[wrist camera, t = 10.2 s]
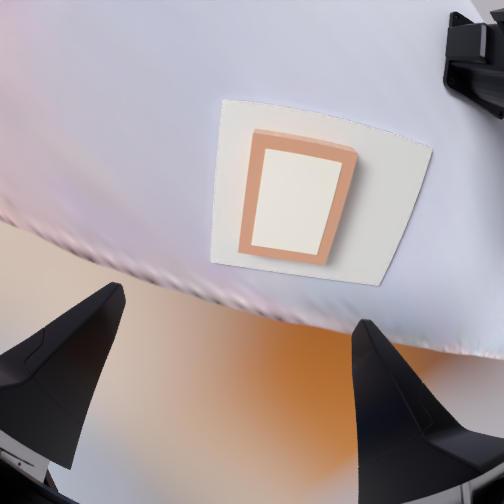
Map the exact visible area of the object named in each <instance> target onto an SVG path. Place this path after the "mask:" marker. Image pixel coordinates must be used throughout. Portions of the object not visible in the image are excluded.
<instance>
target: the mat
mask: <svg viewBox="0 0 504 504" xmlns="http://www.w3.org/2000/svg"><path fill="white" fill-rule="evenodd" d="M255 129H262V130H269V131H276V132H282V133H288V134H293V135H299V136H304V137H309V138H314V139H319V140H324V141H328V142H333V143H337V144H341V145H345V146H349V147H352V148H353V149H354V150H355V151H356V152H357V153H358V156H357V160H356V164H355V168H354V172H353V175H352V179H351V183H350V186H349V190H348V193H347V197H346V200H345V204H344V207H343V210H342V214H341V217H340V220H339V224H338V227H337V230H336V233H335V236H334V239H333V242H332V246H331V249H330V252H329V255H328V258H327V260H326V263H325V266H324V265H317V264H311V263H304V262H297V261H290V260H283V259H277V258H270V257H263V256H256V255H249V254H243V253H238V248H239V240H240V231H241V223H242V215H243V207H244V199H245V191H246V183H247V175H248V167H249V160H250V152H251V144H252V137H253V132H254V130H255ZM432 150H433V149H432V148H430V147H428V146H426V145H423V144H421V143H418V142H415V141H413V140H410V139H407V138H405V137H402V136H399V135H396V134H393V133H390V132H387V131H384V130H381V129H377V128H374V127H371V126H367V125H364V124H361V123H357V122H353V121H350V120H346V119H342V118H338V117H334V116H329V115H325V114H321V113H316V112H311V111H306V110H301V109H296V108H290V107H284V106H278V105H272V104H265V103H257V102H249V101H240V100H230V99H223V101H222V110H221V119H220V129H219V139H218V150H217V161H216V174H215V186H214V200H213V216H212V232H211V252H210V262H212V263H219V264H225V265H232V266H239V267H245V268H252V269H259V270H266V271H273V272H280V273H287V274H294V275H301V276H308V277H315V278H323V279H330V280H338V281H345V282H353V283H360V284H368V285H376V286H379V284H380V282H381V280H382V278H383V276H384V274H385V272H386V270H387V268H388V266H389V264H390V262H391V260H392V257H393V255H394V253H395V251H396V249H397V246H398V244H399V242H400V239H401V237H402V235H403V232H404V230H405V227H406V225H407V222H408V220H409V217H410V215H411V212H412V210H413V207H414V204H415V202H416V199H417V196H418V193H419V191H420V188H421V185H422V182H423V179H424V176H425V173H426V170H427V166H428V163H429V160H430V157H431V153H432Z"/></svg>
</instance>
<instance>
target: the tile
mask: <svg viewBox="0 0 504 504" xmlns="http://www.w3.org/2000/svg"><path fill="white" fill-rule="evenodd" d="M357 156H358V153H357V152H356V151H355V150H354V149H353V148H352V147H349V146H345V145H341V144H337V143H333V142H328V141H324V140H319V139H314V138H309V137H304V136H299V135H293V134H288V133H282V132H276V131H269V130H262V129H255V130H254V132H253V137H252V144H251V152H250V160H249V167H248V175H247V183H246V191H245V199H244V207H243V215H242V223H241V231H240V240H239V248H238V253H243V254H249V255H256V256H263V257H270V258H277V259H283V260H290V261H297V262H304V263H311V264H317V265H324V266H325V263H326V260H327V258H328V255H329V252H330V249H331V246H332V242H333V239H334V236H335V233H336V230H337V227H338V224H339V220H340V217H341V214H342V210H343V207H344V204H345V200H346V197H347V193H348V190H349V186H350V183H351V179H352V175H353V172H354V168H355V164H356V160H357Z"/></svg>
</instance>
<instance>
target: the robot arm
mask: <svg viewBox="0 0 504 504" xmlns="http://www.w3.org/2000/svg"><path fill="white" fill-rule="evenodd" d="M490 14H491V15H492V17H493V19H494V21H496V22H497V24H485V23H473V22H472V21H470V20H469V19H467V18H466V17H464V16H463V15H461V14H460V13H458V12H451V13H450V22H449V28H448V35H447V46H446V54H445V56H446V63H445V70H444V77H443V82H444V84H445V86H446V87H447V88H449V89H451V90H453V91H455V92H456V93H458V94H460V95H462V96H463V97H465V98H467V99H468V100H470V101H472V102H473V103H475V104H476V105H478V106H480V107H481V108H483V109H484V110H486V111H487V112H489V113H490V114H492V115H493V116H494V117H496V118H498V119H503V118H504V8H503V9H499V10H495V11H491V12H490ZM456 17H457V18H458V20H457V19H456ZM449 79H451V84H450V83H449ZM125 303H126V299H125V295H124V290H123V286H122V285H121V284H119V283H115V282H111V283H109V284H108V285H106V286H105V287H103V288H101V289H100V290H98V291H97V292H95V293H94V294H92V295H91V296H89V297H88V298H86V299H85V300H83V301H82V302H80V303H79V304H77V305H76V306H74V307H73V308H71V309H70V310H68V311H67V312H65V313H64V314H62V315H61V316H59V317H58V318H56V319H55V320H54V321H52V322H51V323H49V324H48V325H46V326H45V328H42V329H41V330H39V331H38V332H37V333H35V334H33V335H32V336H31V337H29V338H28V339H26V340H25V341H23V342H21V343H20V344H18V345H16V346H14V347H13V348H11V349H9V350H8V351H6V352H4V353H3V354H1V355H0V504H79V503H77V502H75V501H73V500H71V499H69V498H68V497H66V496H64V495H62V494H60V493H59V492H58V489H57V488H56V485H55V483H54V481H53V479H52V477H51V475H50V473H49V470H48V465H49V461H52V462H54V463H56V464H58V465H60V466H62V467H64V468H67V469H69V470H70V469H71V466H72V462H73V459H74V455H75V451H76V447H77V444H78V441H79V437H80V434H81V430H82V426H83V423H84V420H85V417H86V414H87V411H88V408H89V405H90V402H91V399H92V396H93V393H94V391H95V388H96V385H97V382H98V380H99V377H100V374H101V372H102V369H103V367H104V364H105V361H106V359H107V356H108V354H109V351H110V349H111V346H112V344H113V342H114V339H115V336H116V333H117V330H118V326H119V323H120V319H121V316H122V313H123V310H124V307H125ZM352 377H353V387H354V397H355V409H356V422H357V439H358V465H359V468H358V470H359V471H358V473H359V496H358V497H359V499H358V504H504V438H498V437H494V436H490V435H485V434H481V433H477V432H473V431H470V430H467V429H465V428H464V427H462V426H461V425H460V424H459V423H458V422H457V421H456V420H455V418H454V417H453V416H452V415H451V414H450V413H449V412H448V411H447V410H446V409H445V408H444V407H443V406H442V405H441V404H440V402H439V401H438V400H437V399H436V398H435V397H434V395H433V394H432V393H431V392H430V390H429V389H428V388H427V387H426V385H425V384H424V383H422V381H421V379H420V378H419V377H418V376H417V374H416V373H415V372H414V371H413V369H412V368H411V367H410V366H409V364H408V363H407V362H406V361H405V360H404V359H403V357H402V356H401V355H400V353H399V352H398V351H397V350H396V349H395V347H394V346H393V345H392V344H391V343H390V342H389V340H388V339H387V338H386V337H385V336H384V334H383V333H382V332H381V331H380V330H379V329H378V327H377V326H376V325H375V324H374V323H373V322H372V321H371V320H367V319H361V320H360V321H359V323H358V324H357V326H356V328H355V330H354V331H353V333H352Z"/></svg>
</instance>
